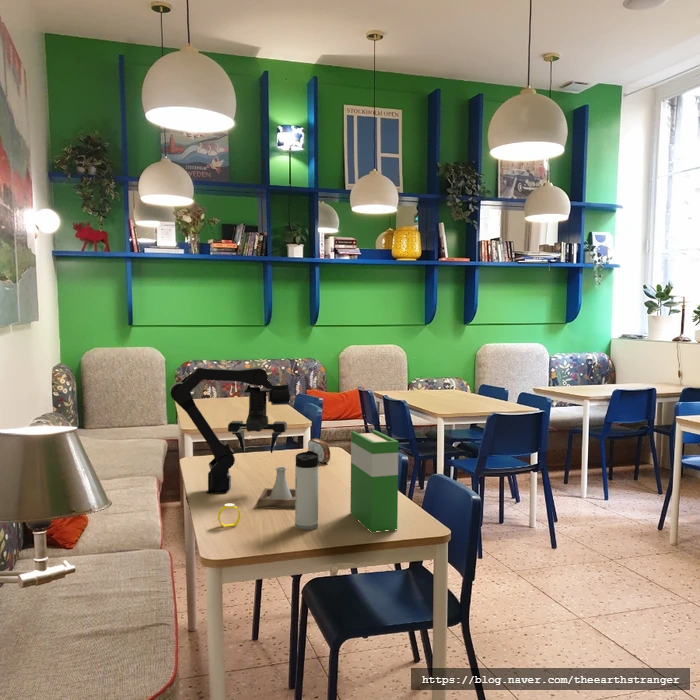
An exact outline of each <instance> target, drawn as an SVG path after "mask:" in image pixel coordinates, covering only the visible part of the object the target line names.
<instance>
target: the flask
mask: <svg viewBox="0 0 700 700" xmlns="http://www.w3.org/2000/svg"><path fill="white" fill-rule="evenodd" d="M275 470H276V477H275V481H274V484H273V490H272V493H271V496H270V498H277V499H293V498H292V495H291V493H290V490H289V489H290V487H289V484H288V481H287V476H286V470H287V467H286V466H277V467H275Z"/></svg>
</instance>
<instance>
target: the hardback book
mask: <svg viewBox="0 0 700 700" xmlns="http://www.w3.org/2000/svg"><path fill="white" fill-rule="evenodd" d="M371 431H372V432H367V433H366V432H364V433H359V432H357V431H354V430H351V431H350V511H349V513H350V514H351V516H353V517H354V518H355V519H356V520H357V521H358V520H359V521H360V522H361V523H362V524H363V525H364V526H365V527H366V528H367V529H369V530H370V531H371V532H376V531H385V530H395V529H397V530H398V510H399V509H398V507H399V506H398V505H399V502H398V499H399V497H398V496H399V440H397V439H395V438H392V437H390V436H388V435H386V434H384V433H382V432H380V431H378V430H376V429H373V430H371ZM359 521H358V522H359ZM360 522H359V523H360ZM361 523H360V524H361ZM362 524H361V525H362ZM363 525H362V526H363ZM364 526H363V527H364ZM365 527H364V528H365ZM366 528H365V529H366ZM367 529H366V530H367ZM369 530H368V531H369ZM370 531H369V532H370ZM371 532H370V533H371Z"/></svg>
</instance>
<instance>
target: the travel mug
mask: <svg viewBox="0 0 700 700" xmlns="http://www.w3.org/2000/svg"><path fill="white" fill-rule="evenodd" d="M319 467H320V466H319V462H318V454H317V453H314V451H308V450H307V451H303V452H302V451H301V452H300V453H297V454H296V455H295V468H294V469H295V470H294V471H295V473H294V474H295V475H294V476H295V477H294V484H295V485H294V486H295V487H294V489H295V508H294V527H295V528H297V529H298V530H302V529H303V531H308V530H309V529H311V530H314V528H315V529H316V528H318V526H319Z"/></svg>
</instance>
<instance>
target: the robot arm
mask: <svg viewBox="0 0 700 700" xmlns="http://www.w3.org/2000/svg"><path fill="white" fill-rule="evenodd" d="M202 381H220V382H221V381H222V382H223V381H225V382H240V383H244V384H246V386H245V388H243V390H242V391H243V392H244V393H248V415H247V418H246V421H245V423H244V421H243V420H231V421H230V422H229V423H228V425H227V432H228V433H230V432H231V433H232V435H235V437H236V438H237V440H238V442H239V445H240V447H241V452H242V453H245V452H246V445H245V444H246V443H245V442H246V441H245V430H246V431H247V432H249V433H250V432H261V431H263V430H272V433H271V440H270V441H271V443H270V453H271V454H272V453H273V451H274V447H275V445H276V442H277V440H278V437H279V436H281V435H282V434H283V433H285V432H286V431H287V429H288V424H287V422H286V421H279V420H278V421H276V420H275V421H274V422H273V423H269V416H268V415H267V402H268V403H271V404H270V405H271V406H280V405H281V406H285V405H287V406H288V405H290V403H291V401H290V400H291V396H290V391H289V384H286V383H285V384H272V382H271V381H270V380H269V376H268V373H267V371H266V370H265V369H263V368H261V367H259V366H256V367H255V366H254V367H253V366H252V367H247V368H241V369H232V368H231V369H229V368H210V367H207V368H206V367H202V366H201V367H200V366H199V367H196V368H195V369H194V370H193V371H192V372H190V374H188V375H187V376H186V377H184V378H183V379H182V380H181V381H177V382H174V383H173V384H172V385H171V386H170V389H169V392H170V393H169V394H170V397H171V398H172V400H174V402H176V404H177V405H178V406H179V407H181V408H182V410H184V412H185V413H187V415H188V416H189V418H190V419H191V421H192V423H193V424H194V426H195V427H196V429H197V430H198V431H199V433H200V434H201V436H202V437H203V439H204V440H205V442H206V443H207V445H208V446H209V448H210V451H211V453H212V455H213V459H211V461H210V462H209V463H208V467H209V470H210V471H208V472H207V491H206V494H227V493H228V492H229V491H230V489H231V487H232V482H231V481H232V476H231V475H230V469H231V468H232V467H233V466H234V465H235V461H236V458H235V456H234V455H235V452H234V450H233V448H231V447H230V445H229V443H228V442H227V440H225V441H223V442H222V440H220V439H219V438H218V436H217V435H216V433H215V432H214V430H213V428H212V427H211V425H210V423H208V421H207V420H206V418H205V417H204V415H203V413H202V412H201V410H200V409H199V407H197V404H196V403H195V400H194V398H193V395H192V393H191V392H192V391H193V390H194V389H195V388H196V387H197V386H199V384H200V383H201V382H202ZM250 385H252V386H250ZM261 386H262V387H263V388H266V389H261Z"/></svg>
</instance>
